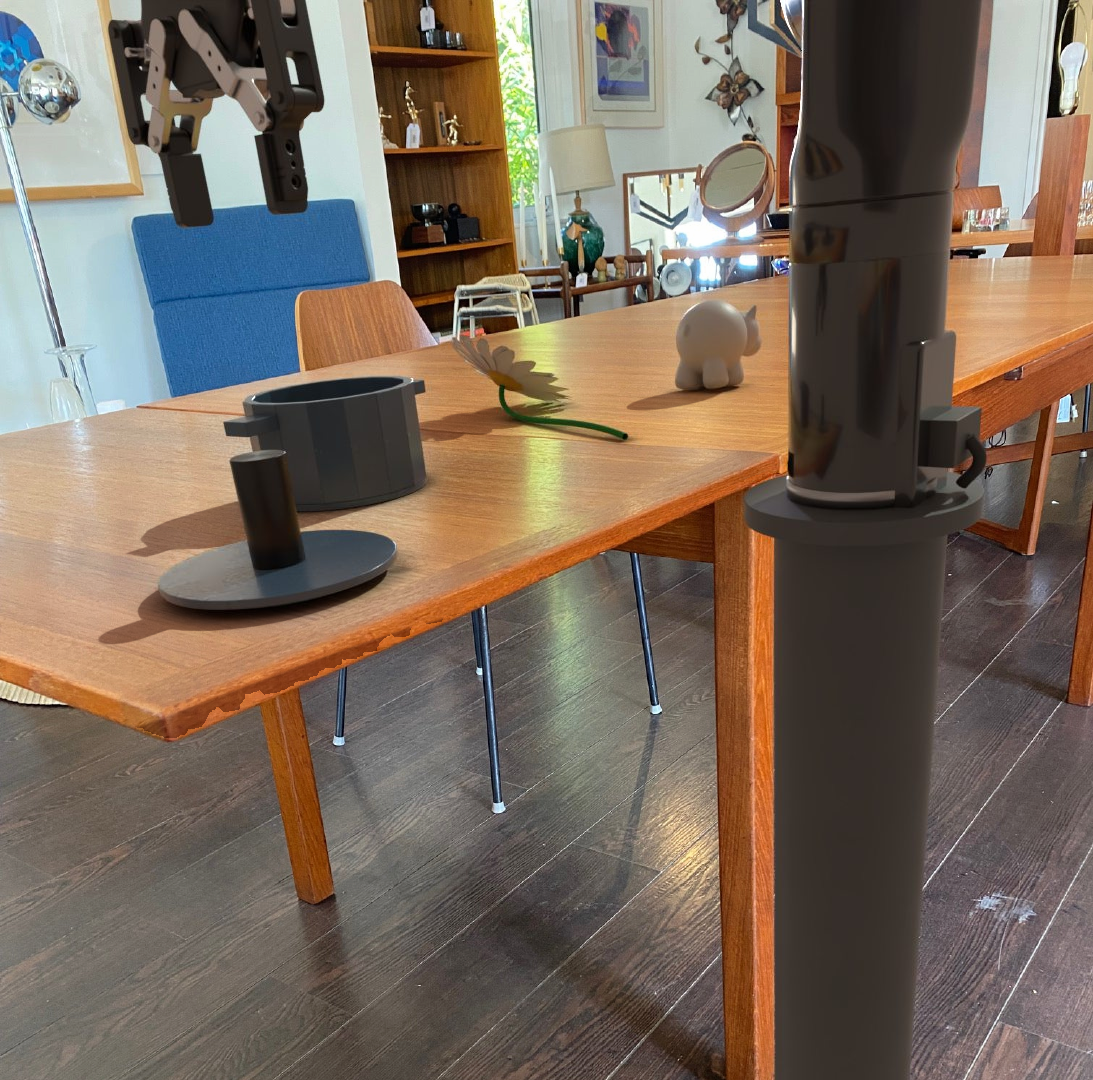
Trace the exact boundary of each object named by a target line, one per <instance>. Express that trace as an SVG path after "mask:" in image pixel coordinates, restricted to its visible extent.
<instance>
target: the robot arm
mask: <svg viewBox="0 0 1093 1080" xmlns="http://www.w3.org/2000/svg"><path fill="white" fill-rule="evenodd" d="M983 2H984V1H983V0H780V3H781V7H782V12H783V15H784V19H785V22H786V24H787V26H788V28H789V30H790V33H791V35H792V37H793V39H794V40H795V41H796V43H797V44H798V45H799V47H800V48H801V50H802V51H801V58H802V59H801V89H800V90H801V91H800V94H801V95H800V110H799V120H798V127H797V134H796V139H795V143H794V147H793V151H792V154H791V157H790V161H789V169H788V170H789V174H788V178H789V179H788V206H789V207H790V208H789V211H788V263H789V264H788V357H787V358H788V366H787V367H788V371H787V373H788V374H787V375H788V376H787V379H788V383H787V385H788V386H787V391H788V392H787V457H788V458H787V461H786V472H787V475H788V476H787V497H788V498H789V499H790V500H792V501H794V502H797V503H800V504H803V505H807V506H811V507H818V508H825V509H838V510H865V509H880V508H892V507H898V508H914V507H916V506H917V505H919V504H920V503H922V502H923V501H925V500H926V499H928V498H929V497H931V496H933V495H934V494H935V493H936V492H938V491H939V490H941V489H942V488H944V487H945V486H946V484H947V472H948V469H955V468H956V467H957V466H960V465H961V464H962V463H964V462H965V461H966V460H968V459H970V458H971V457H972V460H971V464H970V466H969V467H968V468H967V469H966V470H965V471H964V472H962V474H960V475H961V476H960V477H959V478H958V479H957V481H956V484H957V485H958V486H959V487H961V488H965V489H966V488H967V487H968V486H969V485H970V483H971V482H972V481H974V480H975V481H976V479H977V478H978V477H979V476H980V475H981V474H982V473H983V471H984V469H985V467H986V464H987V459H988V457H987V450H986V449H985V446H984V445H983V443H982V442H981V440H980V435H981V423H982V410H983V408H982V406H964V405H963V406H959V405H958V406H957V405H956V406H955V405H954V406H953V394H954V393H953V392H954V381H955V379H954V377H955V366H956V365H955V364H956V352H957V351H956V350H957V349H956V348H957V333H956V332H955V331H954V330H952V329H948V330H947V329H946V325H947V324H946V323H947V310H948V293H949V276H950V264H951V262H950V261H951V248H952V247H951V246H952V233H953V231H952V229H953V218H954V217H953V215H954V199H955V193H954V192H953V191H954V190H955V187H956V186H955V184H956V172H957V165H958V159H959V154H960V152H961V149H962V147H963V143H964V140H965V138H966V136H967V131H968V128H969V124H970V120H971V115H972V109H973V101H974V93H975V92H974V91H975V90H974V89H975V81H976V72H977V62H978V51H979V43H980V42H979V41H980V32H981V21H982V13H983V12H982V10H983ZM140 8H141V9H140V19H138V20H132V19H131V20H130V19H123V20H122V19H110V20H109V22H108V25H107V32H108V36H109V37H108V38H109V44H110V48H111V53H112V58H113V63H114V69H115V74H116V79H117V85H118V89H119V94H120V98H121V104H122V109H123V114H124V118H125V119H124V120H125V126H126V131H127V135H128V138H129V140H130V142H131V143H132V144H133V145H135V146H146V147H148V148H150V150H151V151H152V152H153V153H154V154H157V156H158V157H159V160H160V164H161V170H162V173H163V178H164V182H165V187H166V192H167V196H168V200H169V205H170V209H171V211H172V214H173V215H172V216H173V219H174V222H175V225H177V226H178V227H179V228H182V229H189V228H202V227H209V226H211V225H213V223H214V220H215V216H214V212H213V207H212V202H211V197H210V192H209V186H208V182H207V176H206V173H205V166H204V161H203V157H202V153H196V152H197V149H198V145H199V140H200V136H201V135H200V134H201V128H202V123H203V119H204V118H205V117H207V116H208V115H209V114H210V113H211V111H212V108H213V103H214V100H215V99H218V98H219V99H220V98H222V97H224V96H225V95H226V96H227V97H229V98H231V99H233V100H235V101H237V102H238V104H239V105H240V107H241V109H242V110H243V112H244V113H245V115H246V116H247V118H248V119H249V121H250V122H251V124H252V126H253V127H254V129H255V130H256V131H258V132H261V134H260V133H259V134H256V135H253V137H254V142H255V148H256V154H257V160H258V164H259V165H258V166H259V171H260V175H261V181H262V186H263V192H264V198H265V203H266V207H267V210H268V211H269V213H271V215H274V216H282V215H294V214H295V215H296V214H302V213H303V214H304V213H305V212H306V211H307V210H308V205H309V203H308V197H309V185H308V179H307V176H306V174H307V171H306V167H305V160H304V155H303V149H302V143H301V137H300V131H302V129H303V128H304V125H305V120H306V119H307V118H308V117H309V116H310V115H311V114H312V113H320V112H321V111H322V110H323V109H324V107H325V94H324V88H323V83H322V78H321V72H320V69H319V62H318V58H317V53H316V48H315V41H314V36H313V31H312V26H311V21H310V17H309V16H310V15H309V11H308V5H307V0H140ZM287 58H289V59H291V61H292V62H293V63H294V67H295V73H296V78H297V82H298V83H292V80H291V76H290V75H291V74H290V70H289V65H288V60H287ZM171 83H172V85H173V87H174V88H175V89H171ZM142 96H145V100H146V101H147V103H149V104H150V106H151V111H150V119H149V120H146V119H145V113H144V109H143V103H142ZM177 116H180V120H179V127H178V126H176V121H175V117H177Z"/></svg>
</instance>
